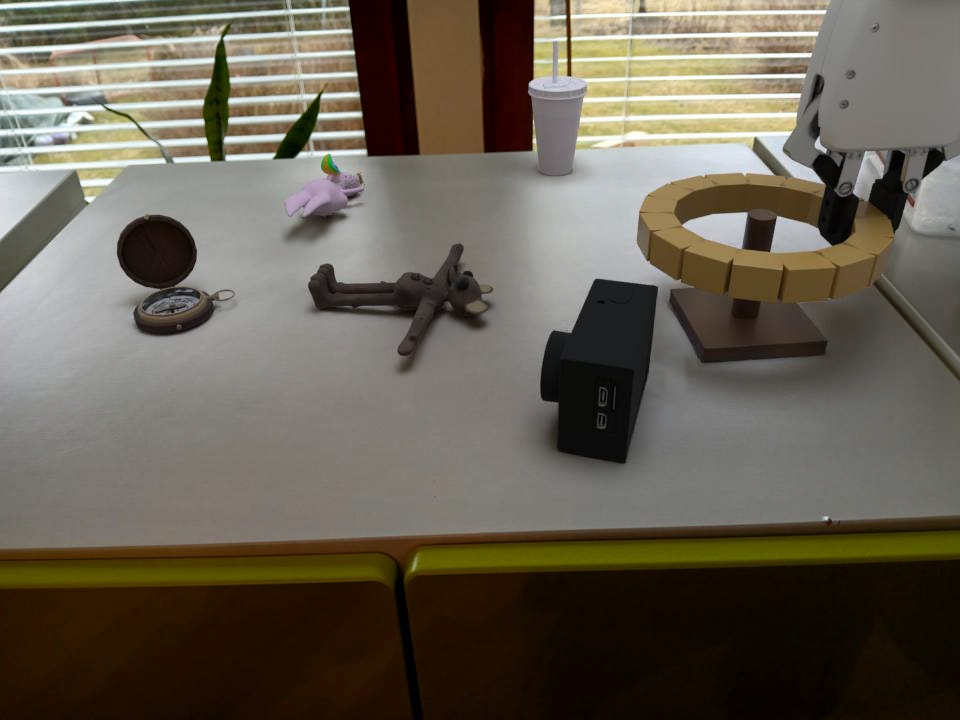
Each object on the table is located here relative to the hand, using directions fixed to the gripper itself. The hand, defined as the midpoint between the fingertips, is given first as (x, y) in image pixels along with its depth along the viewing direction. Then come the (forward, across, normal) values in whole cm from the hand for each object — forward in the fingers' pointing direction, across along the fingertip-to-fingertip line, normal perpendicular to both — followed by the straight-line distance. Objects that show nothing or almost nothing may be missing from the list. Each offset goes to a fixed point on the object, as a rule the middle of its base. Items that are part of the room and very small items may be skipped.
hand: (854, 238), depth 57 cm
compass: (+7, +51, -8) cm, 52 cm away
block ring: (0, +7, 0) cm, 7 cm away
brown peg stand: (+7, +7, 0) cm, 10 cm away
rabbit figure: (+7, +41, -27) cm, 50 cm away
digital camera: (+7, +20, +9) cm, 23 cm away
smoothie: (+7, +16, -36) cm, 40 cm away
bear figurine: (+7, +33, -6) cm, 34 cm away
